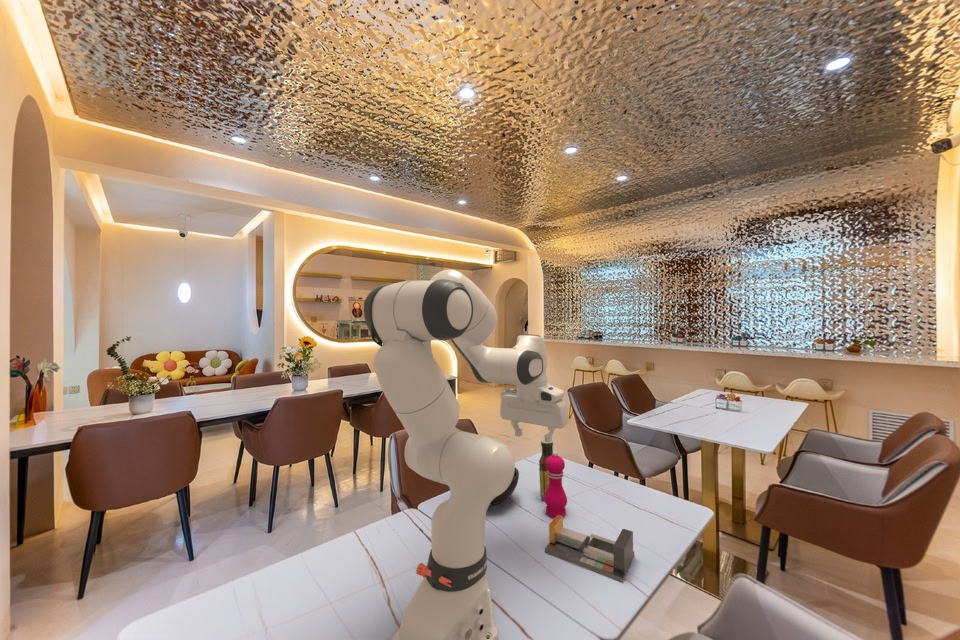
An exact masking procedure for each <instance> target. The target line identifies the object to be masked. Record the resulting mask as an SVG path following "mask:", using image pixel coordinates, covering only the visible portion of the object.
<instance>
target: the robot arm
mask: <svg viewBox="0 0 960 640" xmlns="http://www.w3.org/2000/svg"><path fill="white" fill-rule="evenodd" d="M363 303H364V304H363V316H364V320H365V321H364V322H365V325H366V326H367V328H368V330H369V332H370V338H371V340H372V341H373V342H374V343H376V345H378V346H380V348H378V350H377V352H376V354H375V356H374V359H373V369H374V370H373V371H374V372H375V375H376V378H377V381H378V382H379V385H380V387H381V390H382V392H383V394H384V397H385V398H386V401H387V402H388V403H389V406H390V407H391V408H392V410H393V412H394V413H395V414H396V416H397V418H398V420H399V421H400V423H401V424H402V426H403V428H404V429H405V431H406V433H407V434H408V438H407V440H406V443H405V446H404V461H405V463H406V466H407V467H408V468H409V469H411V470H412V471H414V473H416V474H418V475H419V476H420V477H423V478H424V479H428V480H430V481H433V482H436V483H439V484H441V485H446V486H448V488H449V491H450V495H449V496H450V497H449V498H448V499H446V500H444V501H442V502H441V503H440V504H438V505H437V507H436V508H435V510H434V511H433V514H432V515H431V520H430V522H431V524H430V525H431V527H430V529H431V531H430V532H431V549H430V551H429V556H428V559H427V564H426V565H425V564H424V563H423V562H420V563H419V564H418V565H417V567H416V571H415V572H416V574H417V575H418V576H420V577H422V581H421V582H420V584H419V586H417V589H416V591H415V592H414V595H412V597H411V600H410V601H409V602H408V605H407V606H406V608H405V609H404V611H403V613H402V617H401V619H400V620H401V621H400V628H398V630H397V632H395V634H394V635H393V637H391V639H390V640H497V639H499V631H498V628H497V626H496V623H495V620H494V611H493V610H494V609H493V601H492V592H491V588H490V585H489V581H488V578H487V570H488V554H487V548H486V545H485V538H486V537H485V535H486V534H485V532H486V529H485V528H486V516H487V511H488V509H489V507H490V505H491V504H490V503H491V501H492V500H493V499H494V498H496V497H497V496H499V495H500V494H502V493H503V492H504V491H505V490H506V489H507V488H508V487H509V485H510V484H511V482H512V479H513V477H514V472H515V468H516V463H515V458H514V455H513V452H512V450H511V448H510V447H509V445H506V444H505V443H503V442H501V441H499V440H497V439H494V438H492V437H490V436H486V435H483V434H482V435H481V434H478V433H473V432H468V431H464V430H461V429H459V428H457V427H456V426H457V423H458V421H459V419H460V418H459V417H460V414H461V406H460V403H459V401H458V398H457V396H456V395H455V393H454V391H453V389H452V387H451V386H450V383H449V381H448V379H447V377H446V376H445V374H444V372H443V370H442V368H441V367H440V365H439V364H438V362H437V360H436V359H435V358H434V356H433V355H434V354H433V350H432V341H437V340H438V341H448V340H450V341H451V343H452V345H453V346H454V347H455V348H456V349H457V351H458V352H459V353H460V355H461V356H462V357H463V358H464V360H465V361H466V362H467V363H468V365H469V367H470V369H471V371H472V373H473V375H474V377H475V378H476V380H478V382H480V383H483V384H484V383H485V384H502V385H503V384H504V385H515V386H516V388H510V387H505V388H503V389H502V390H501V392H500V408H499V414H500V415H499V416H500V417H501V420H506V421H510V422H511V423H510V425H511V426H512V428H513V430H514V436H515V437H521V436H523V429H522V428H520V426H519V423H525V424H529V425H530V424H531V425H535V426H542V427H547V431H549V432H548V433H546V434H545V435H544V437H543V438H544V440H545V442H551V441H552V442H553V434H554V433H555V431H556V430H557V429H558V430H559V429H560V430H562V429H563V428H566V426H567V425H568V423H569V414H568V413H569V412H568V406H567V403H566V401H565V400H564V397H565V391H564V390H563V389H561V388H559V387H557V386H554V385H552V384H550V383H548V377H547V366H548V359H547V348H546V342H545V339H544V337H543V336H541V335H538V334H532V333H531V334H529V333H522V334H520V335H518V336H517V338H516V345H514V346H513V347H511V348H505V347H504V348H503V347H491V346H485V345H483V344H484V343H486V342H487V341H488V340H489V339H490V338H491V337H492V335H493V334H494V332H495V330H496V328H497V323H498V313H497V310H496V308H495V306H494V305H493V303H492V302H491V300H490V299H489V298H488V297H487V296H486V294H485V293H484V292H483V291H482V289H480V287H478V285H476V283H474V281H472V280H471V279H470V278H468V277H467V276H466V275H464V273H462V272H460V271H459V270H456V269H443V270H441V271H439V272H437V273H435V274H434V275H433V276H432V277H431V278H430V280H423V279H422V280H417V279H409V280H405V281H404V280H403V281H399V282H396V283H386V284H383V285H379V286H377V287H376V288H374V289H373V290H371V291H370V292H369V293H368V295H366V297H365V300H364V302H363ZM487 638H489V639H487Z"/></svg>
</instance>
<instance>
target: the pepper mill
mask: <svg viewBox="0 0 960 640" xmlns="http://www.w3.org/2000/svg"><path fill="white" fill-rule="evenodd" d="M546 467H547V469H548V471H547V472H548V474H547V475H548V476H549V486H548V488H547V490H546V493H545V497H544V500H543V501H544V504H545V505H546V507H545V514H546V515H547V516H548V517H549V518H552V519H554V518H555V517H556V516H557V515H561V516H563V518H565V517H566V515H567V511H566V510H567V508H566V506H567V504H568V497H567V493H566V491H565V490H564V487H563V478H564V469H565V468H566V464H565V461H564V459H563V458H562V456H559V454H558V451H556V450H553V453H552V456H549V457H548V458H547V460H546Z"/></svg>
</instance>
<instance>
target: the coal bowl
mask: <svg viewBox="0 0 960 640" xmlns="http://www.w3.org/2000/svg"><path fill="white" fill-rule="evenodd" d="M519 476H520V472H519V470H518V468H517V467H515V472H514V477H513V479H512V482H511V484H510V485H509V487H508V488H507V489H506V490H505V491H504V492H503V493H502V494H500V495H499V496H497V497H496V498H494V499H493V500H492V501H491V503H490V504H489V505H497V504H500V503H503V502H505V500H507V499H509V497H511V496H512V494H513V493H514V491H515V490H516V488H517V486H518V482H519V480H520V477H519Z"/></svg>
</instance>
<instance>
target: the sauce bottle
mask: <svg viewBox="0 0 960 640" xmlns="http://www.w3.org/2000/svg"><path fill="white" fill-rule="evenodd" d="M540 445H541V456H540V458H539V462H538V465H539V469H538V470H539V489H540V491H539V492H540V498H541V499H542V501H544V497H545V493H546V490H547V488H548V486H549V476H548V475H547V474H548V472H547V471H548V469H547V467H546V460H547V458H548V457H549V456H552V453H553V452H554V450H553V449H554V447H553V446H554V442H553V440H552V441H551V442H545V439H543V440H541V441H540Z"/></svg>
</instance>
